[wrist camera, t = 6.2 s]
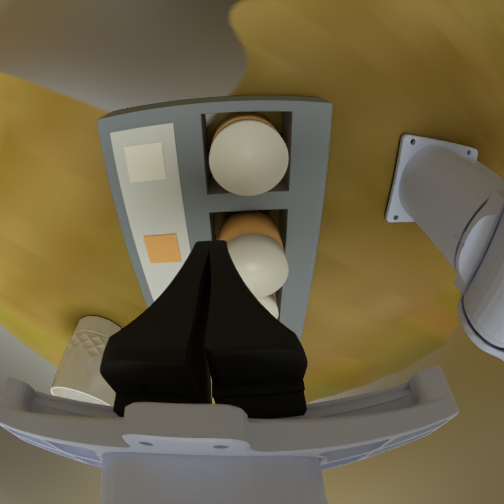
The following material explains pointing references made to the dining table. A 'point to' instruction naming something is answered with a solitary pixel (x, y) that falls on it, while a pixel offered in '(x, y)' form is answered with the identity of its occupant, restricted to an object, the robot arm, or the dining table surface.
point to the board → (212, 187)
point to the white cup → (85, 363)
